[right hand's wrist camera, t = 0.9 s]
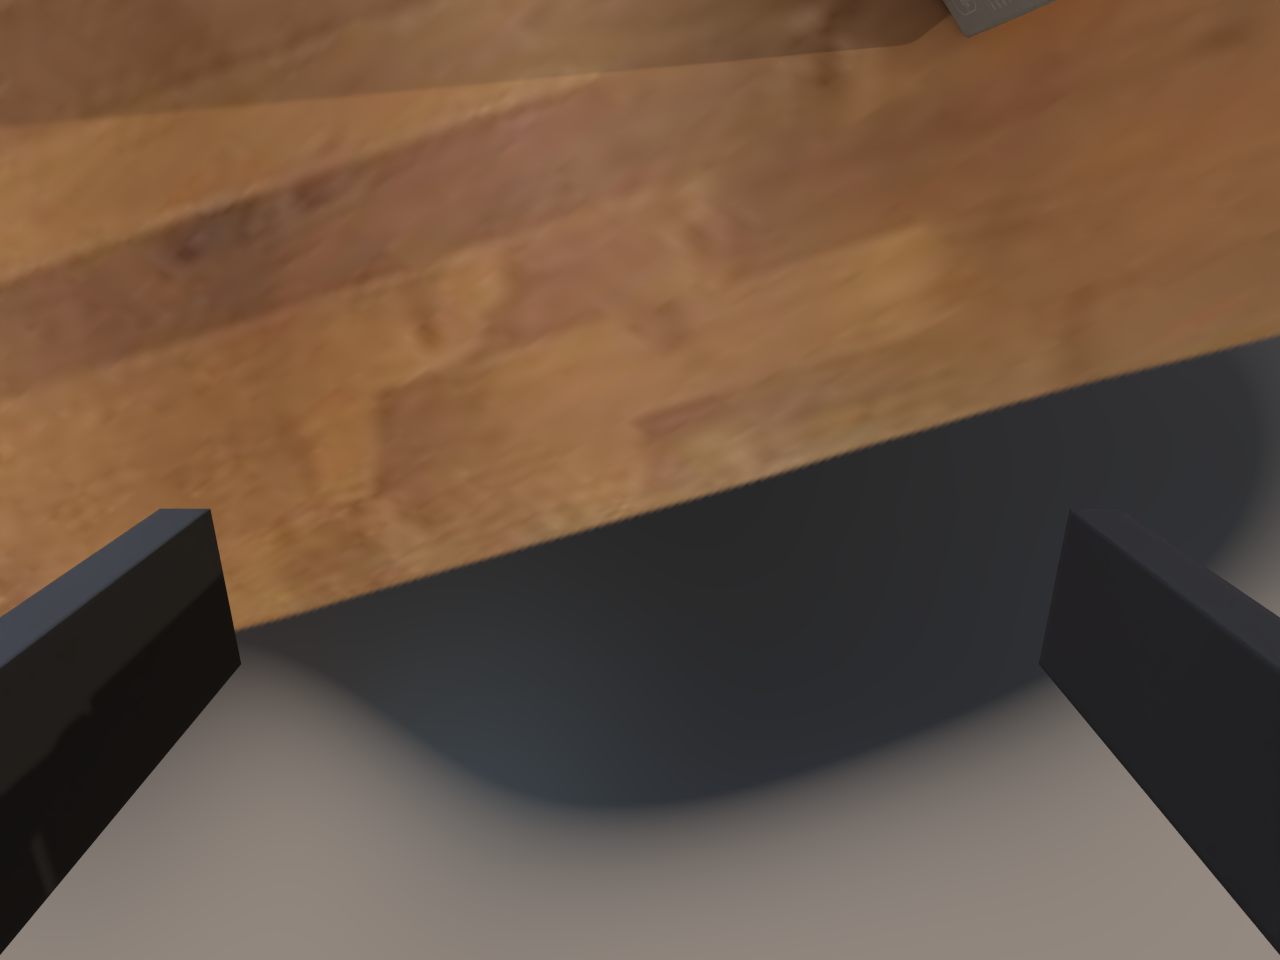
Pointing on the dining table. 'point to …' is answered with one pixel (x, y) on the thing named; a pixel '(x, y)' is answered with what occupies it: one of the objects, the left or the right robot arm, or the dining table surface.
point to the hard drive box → (988, 12)
